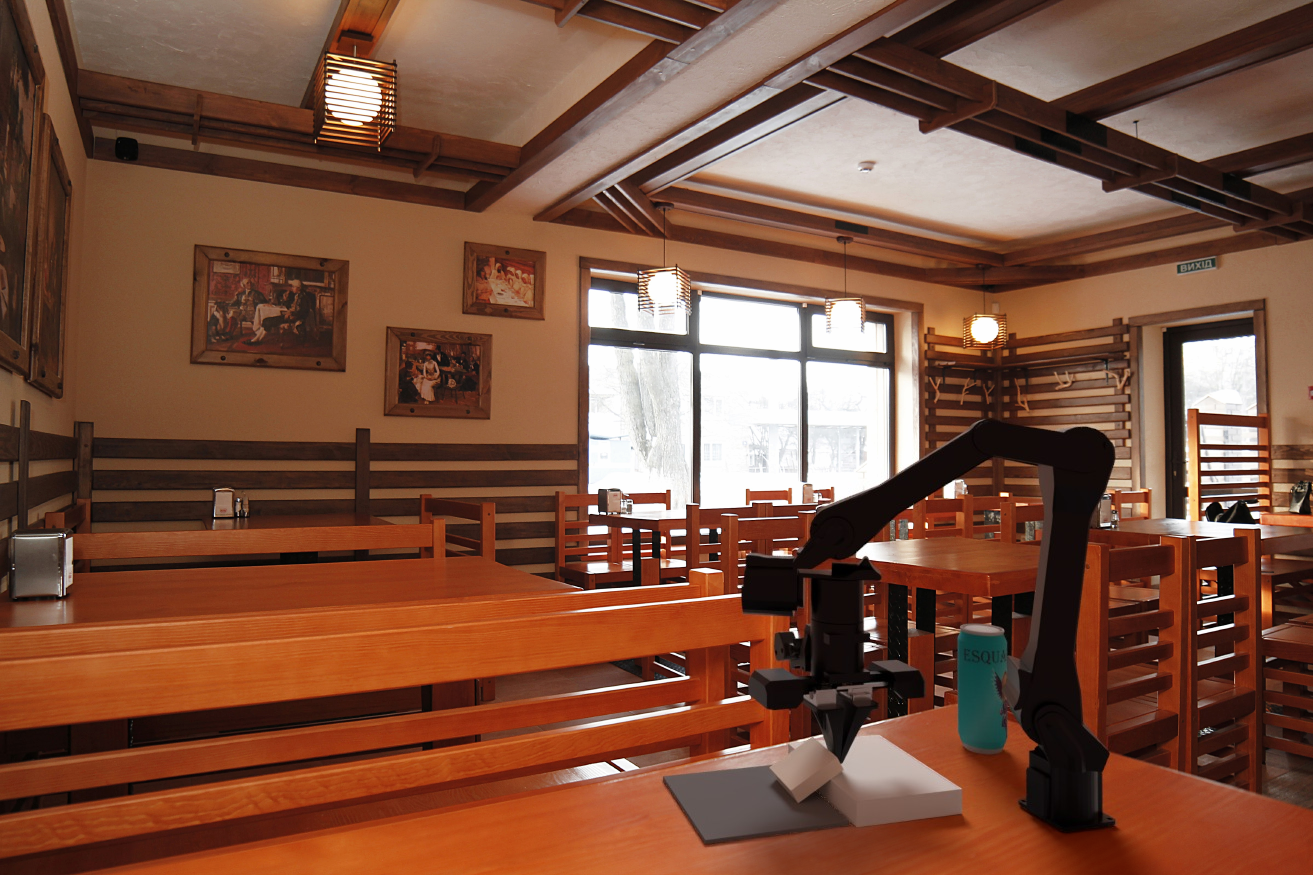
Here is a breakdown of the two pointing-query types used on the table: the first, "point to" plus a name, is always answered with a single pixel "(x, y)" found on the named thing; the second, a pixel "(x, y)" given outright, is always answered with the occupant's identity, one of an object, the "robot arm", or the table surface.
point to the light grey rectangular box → (887, 785)
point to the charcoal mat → (747, 805)
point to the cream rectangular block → (806, 769)
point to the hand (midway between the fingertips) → (836, 762)
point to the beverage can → (982, 688)
